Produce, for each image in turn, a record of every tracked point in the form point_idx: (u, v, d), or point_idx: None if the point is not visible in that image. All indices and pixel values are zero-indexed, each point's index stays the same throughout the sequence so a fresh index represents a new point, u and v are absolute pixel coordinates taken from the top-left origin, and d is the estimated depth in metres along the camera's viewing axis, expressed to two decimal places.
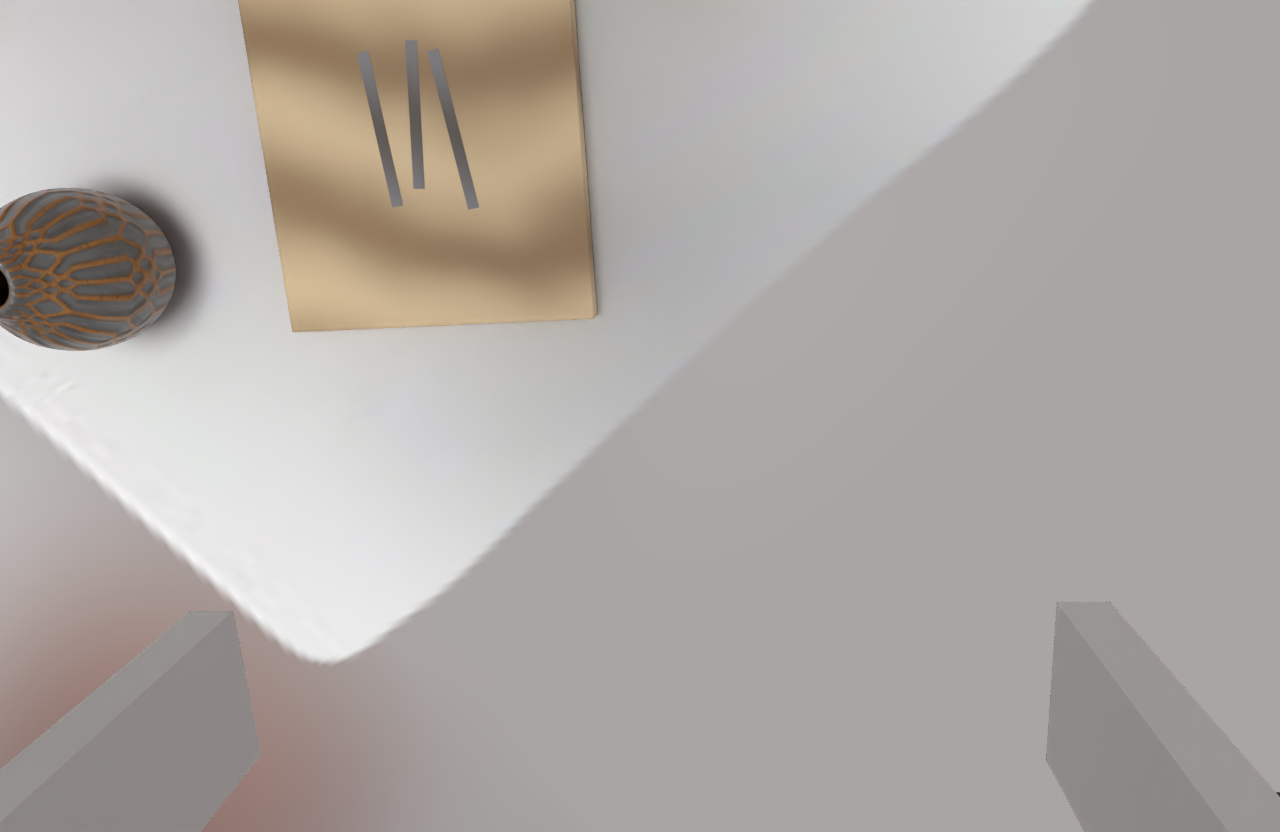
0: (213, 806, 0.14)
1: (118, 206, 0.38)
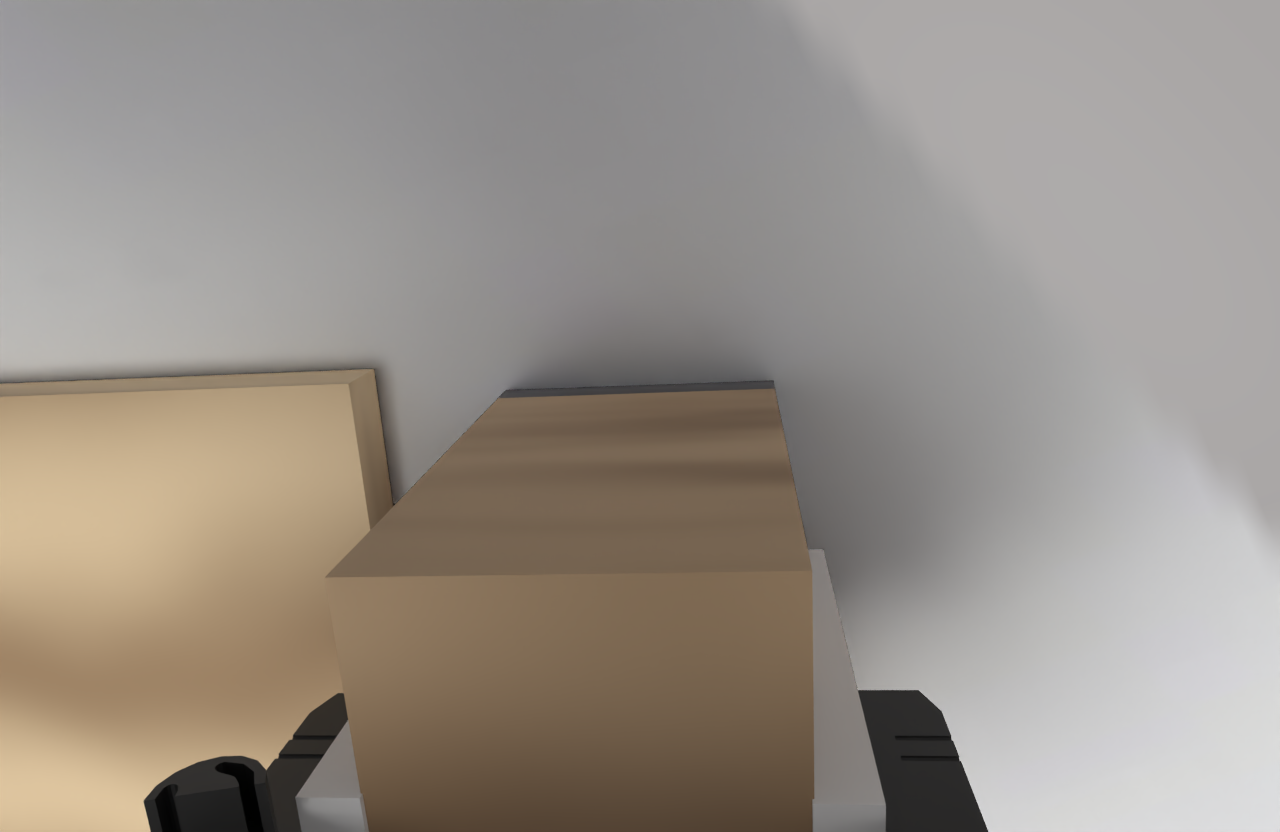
0: None
1: None
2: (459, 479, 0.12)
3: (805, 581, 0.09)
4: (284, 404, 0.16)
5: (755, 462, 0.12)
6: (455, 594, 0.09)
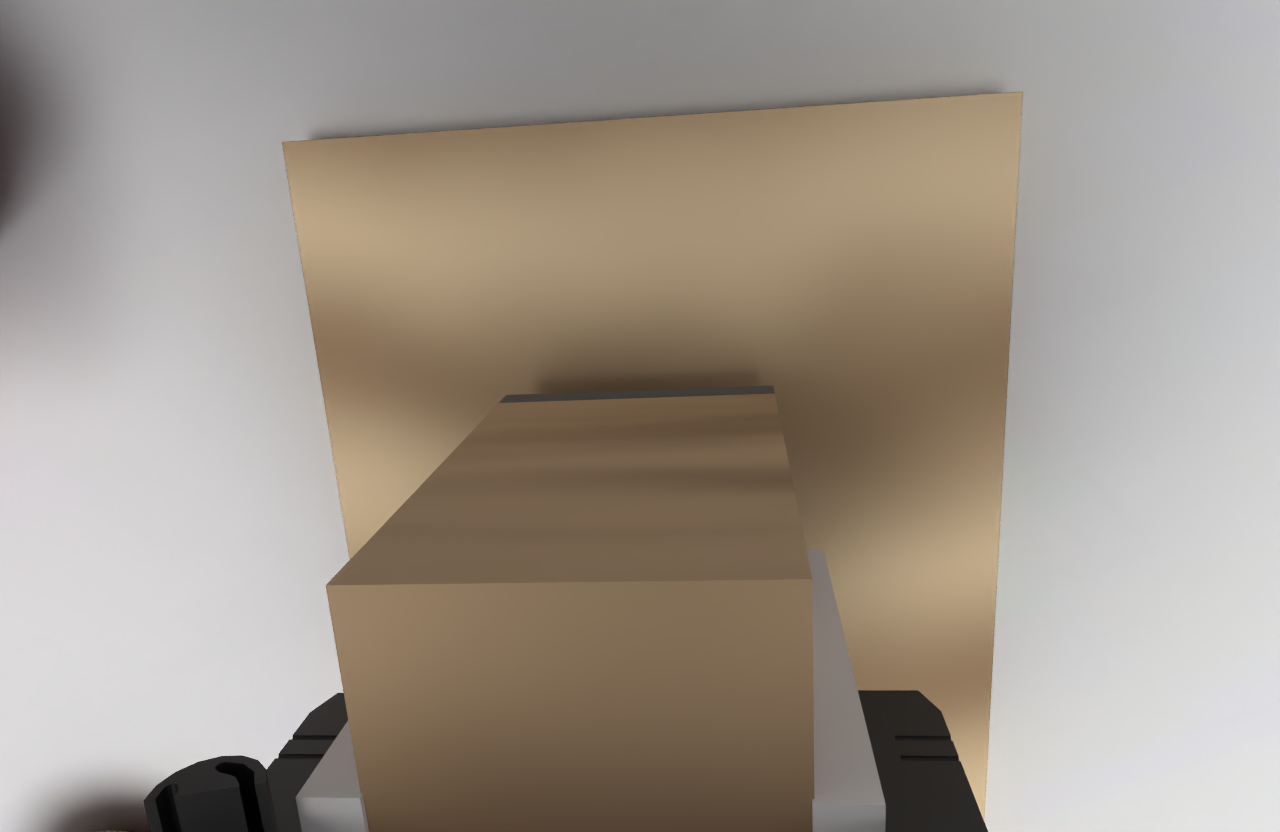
0: None
1: None
2: (460, 485, 0.12)
3: (805, 589, 0.09)
4: (950, 116, 0.16)
5: (755, 468, 0.12)
6: (456, 603, 0.09)
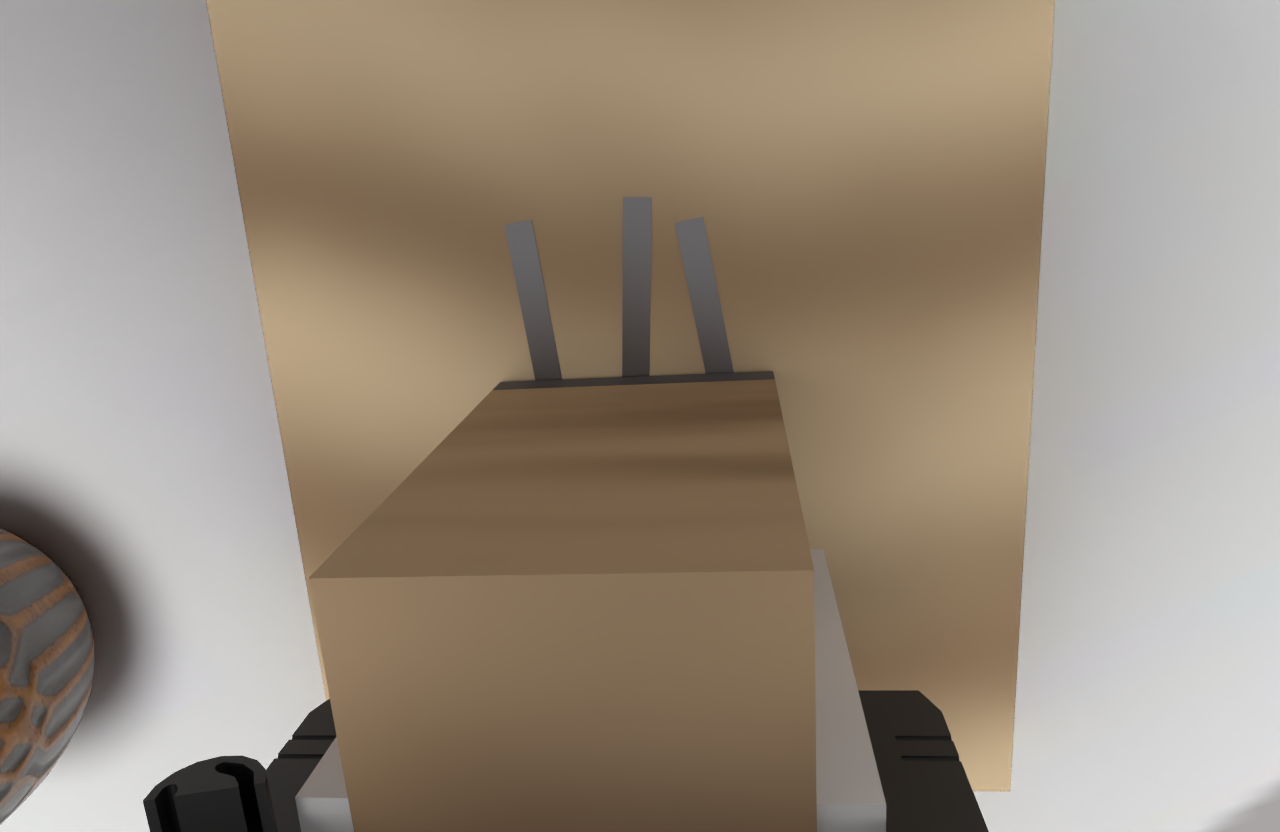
0: None
1: None
2: (450, 474, 0.12)
3: (806, 581, 0.09)
4: None
5: (754, 456, 0.12)
6: (444, 596, 0.09)
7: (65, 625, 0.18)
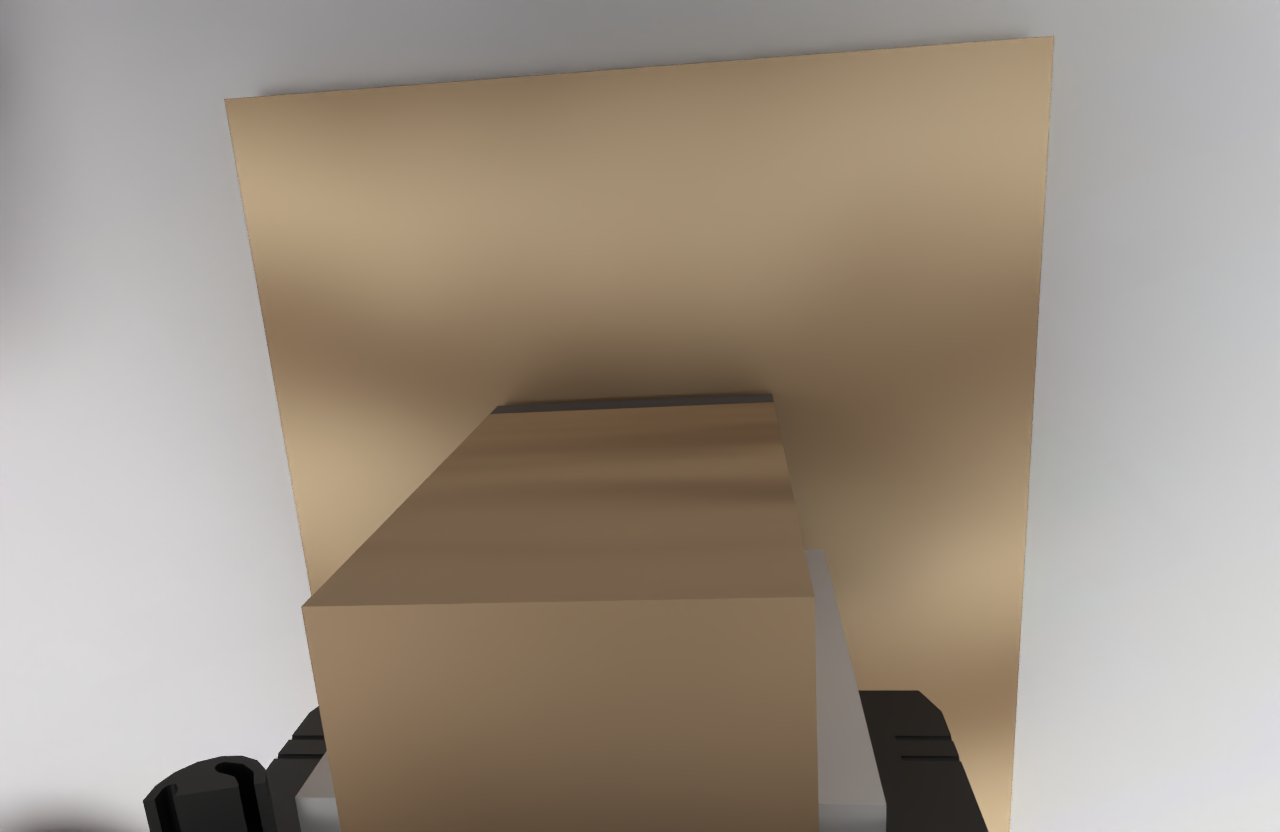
0: None
1: None
2: (446, 500, 0.12)
3: (807, 607, 0.08)
4: (972, 64, 0.15)
5: (753, 481, 0.12)
6: (439, 623, 0.09)
7: None
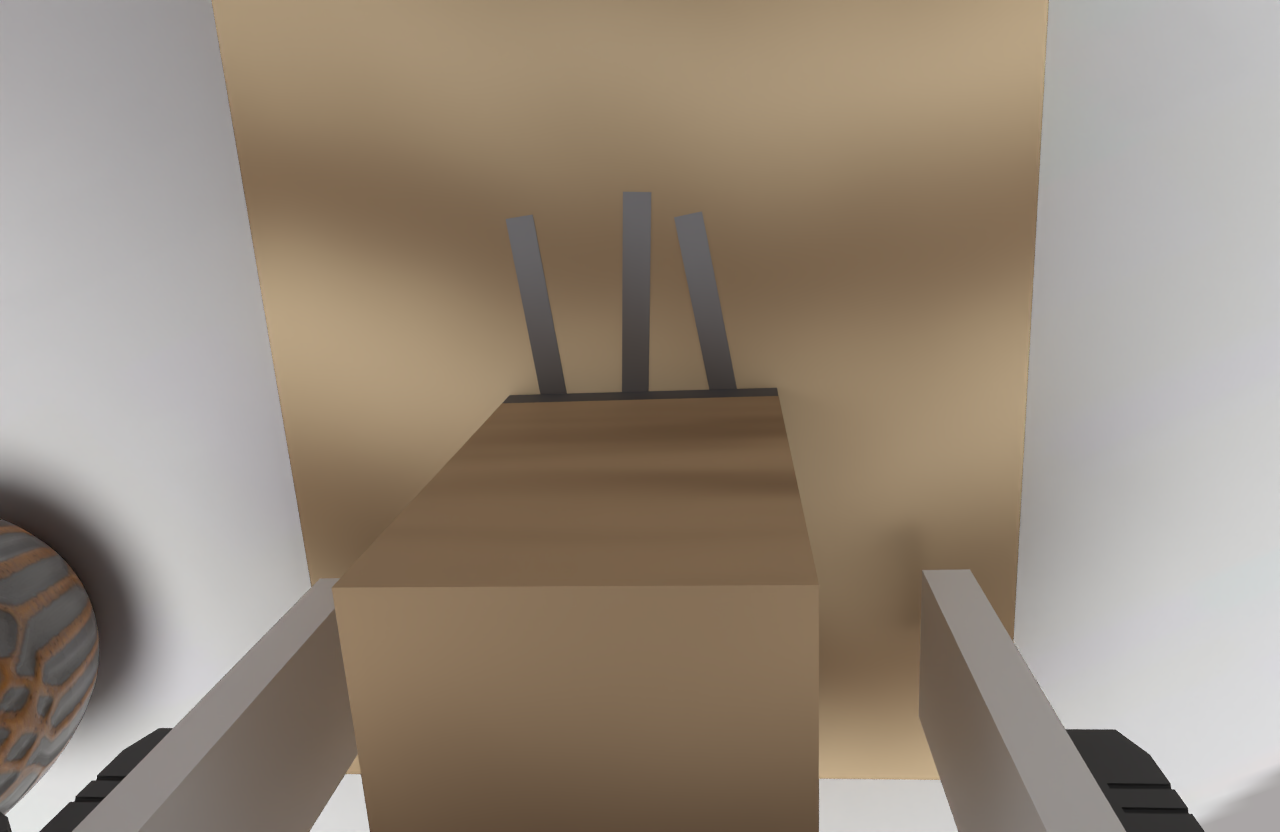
0: (349, 759, 0.15)
1: None
2: (464, 487, 0.12)
3: (812, 595, 0.09)
4: None
5: (759, 473, 0.12)
6: (462, 606, 0.09)
7: (70, 616, 0.18)
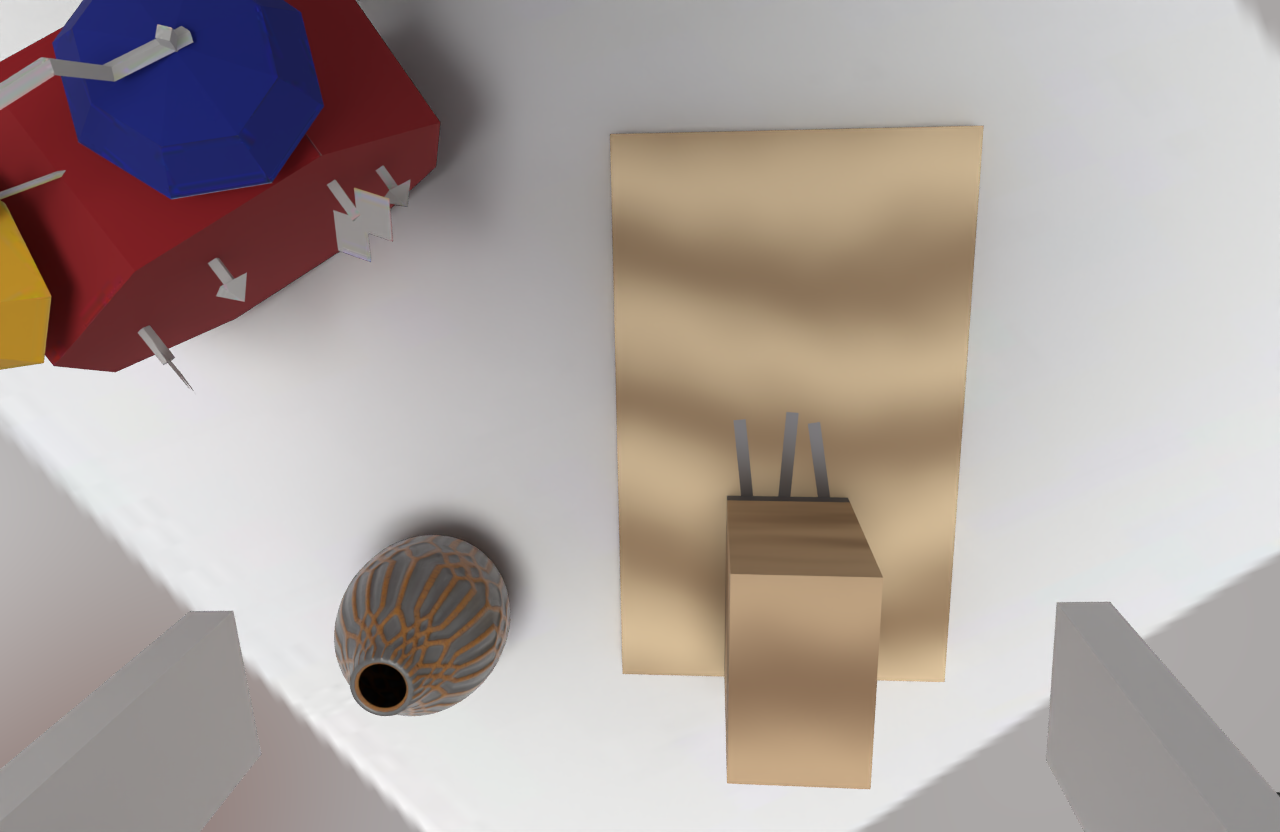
0: (213, 806, 0.14)
1: (476, 563, 0.37)
2: (744, 540, 0.33)
3: (880, 580, 0.30)
4: (948, 136, 0.34)
5: (853, 539, 0.33)
6: (771, 581, 0.30)
7: (506, 590, 0.39)
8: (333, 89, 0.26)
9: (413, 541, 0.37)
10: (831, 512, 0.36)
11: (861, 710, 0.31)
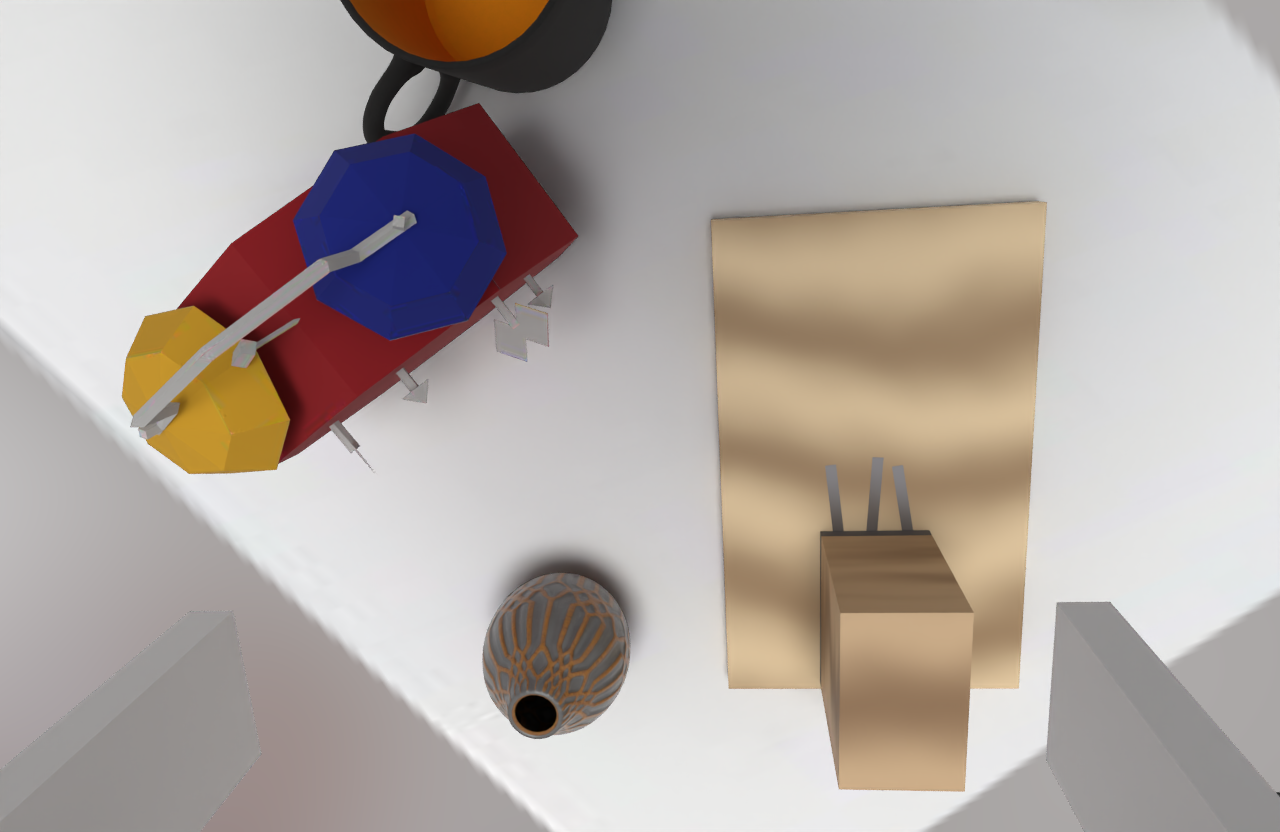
0: (213, 806, 0.14)
1: (601, 599, 0.42)
2: (845, 578, 0.38)
3: (972, 615, 0.34)
4: (1015, 212, 0.38)
5: (941, 574, 0.38)
6: (876, 617, 0.35)
7: (625, 620, 0.44)
8: (500, 225, 0.31)
9: (545, 581, 0.43)
10: (917, 546, 0.40)
11: (956, 725, 0.36)
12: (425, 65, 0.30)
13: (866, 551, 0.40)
